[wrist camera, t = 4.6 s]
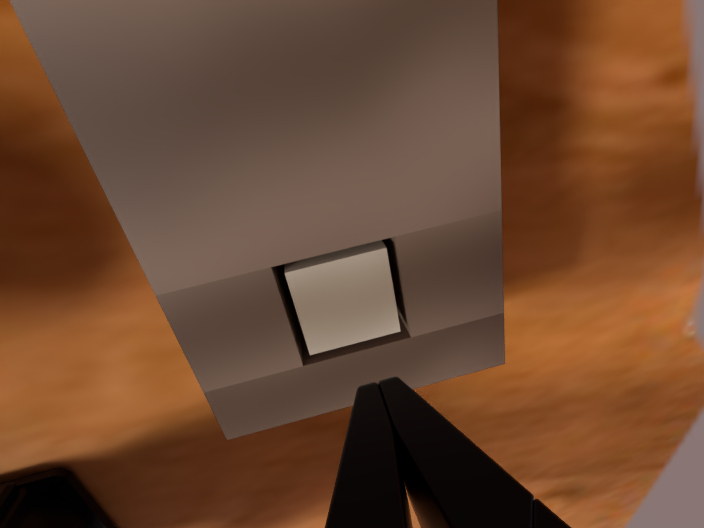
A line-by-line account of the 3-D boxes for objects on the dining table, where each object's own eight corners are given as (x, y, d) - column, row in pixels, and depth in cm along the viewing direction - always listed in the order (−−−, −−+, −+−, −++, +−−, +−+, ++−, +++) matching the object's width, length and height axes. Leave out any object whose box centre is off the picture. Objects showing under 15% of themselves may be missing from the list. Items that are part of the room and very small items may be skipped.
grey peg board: (449, 295, 18) (505, 363, 13) (242, 349, 17) (226, 440, 13) (384, -392, 9) (479, -852, 5) (-37, -336, 9) (-388, -803, 4)
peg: (371, 271, 16) (400, 331, 12) (303, 289, 16) (310, 355, 12) (358, 205, 15) (386, 247, 11) (284, 223, 15) (284, 272, 11)
